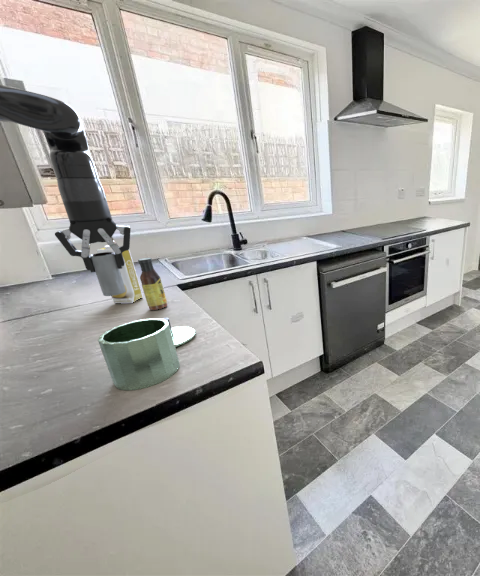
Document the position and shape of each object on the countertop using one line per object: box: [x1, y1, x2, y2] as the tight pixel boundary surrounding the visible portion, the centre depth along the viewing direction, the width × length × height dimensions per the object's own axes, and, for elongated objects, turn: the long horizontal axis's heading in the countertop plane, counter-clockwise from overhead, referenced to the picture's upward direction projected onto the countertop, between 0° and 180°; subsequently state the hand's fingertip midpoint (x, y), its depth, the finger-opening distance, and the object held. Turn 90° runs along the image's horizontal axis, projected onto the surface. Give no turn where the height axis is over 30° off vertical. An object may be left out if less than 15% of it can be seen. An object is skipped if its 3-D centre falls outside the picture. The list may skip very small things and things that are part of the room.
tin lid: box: [161, 317, 196, 348], centre depth 95 cm, size 15×15×7 cm
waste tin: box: [97, 317, 181, 391], centre depth 78 cm, size 14×14×12 cm
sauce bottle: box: [137, 257, 168, 311], centre depth 119 cm, size 7×6×20 cm
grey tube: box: [89, 252, 126, 297], centre depth 77 cm, size 4×4×10 cm
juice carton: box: [96, 244, 144, 304], centre depth 126 cm, size 9×8×24 cm
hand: (107, 269), depth 77 cm, fingers closed on grey tube, 4 cm apart
